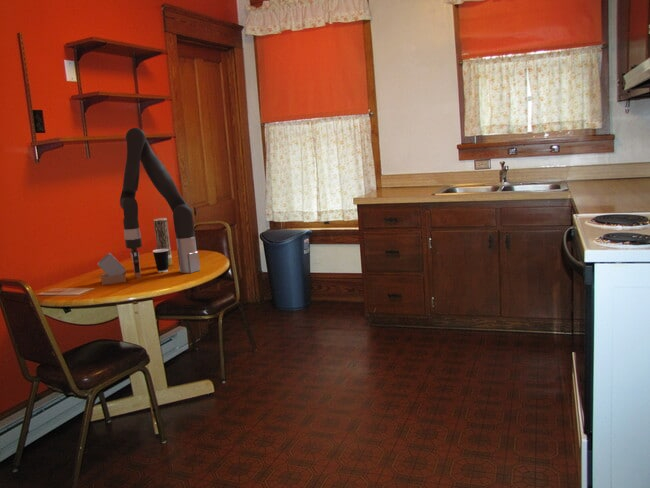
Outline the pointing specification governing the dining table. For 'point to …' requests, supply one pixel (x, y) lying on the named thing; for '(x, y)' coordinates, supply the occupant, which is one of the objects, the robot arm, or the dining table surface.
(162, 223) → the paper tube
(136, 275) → the dowel
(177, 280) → the dining table surface
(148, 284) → the dining table surface
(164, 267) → the dixie cup
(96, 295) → the dining table surface
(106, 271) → the socket
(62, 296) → the dining table surface
